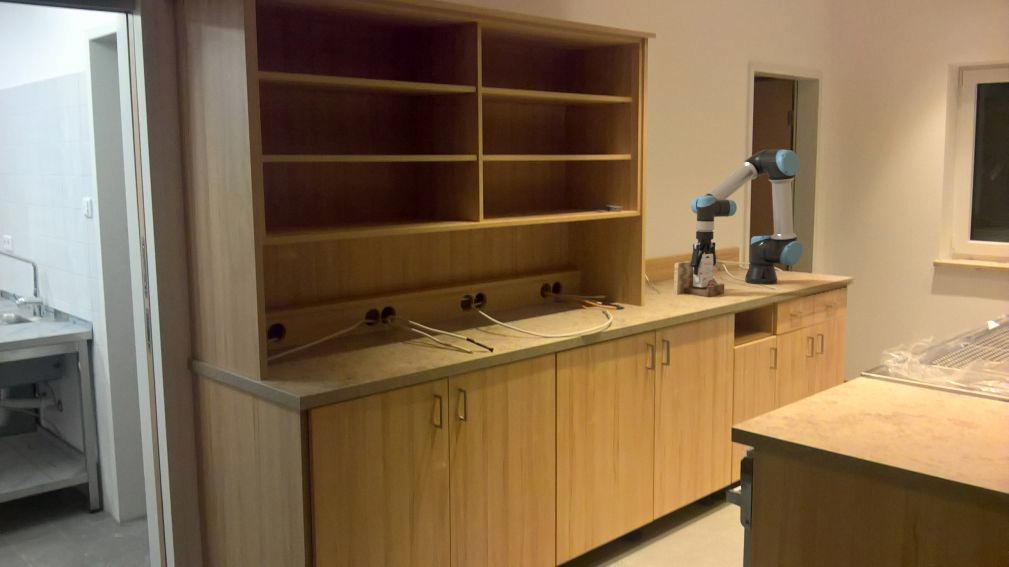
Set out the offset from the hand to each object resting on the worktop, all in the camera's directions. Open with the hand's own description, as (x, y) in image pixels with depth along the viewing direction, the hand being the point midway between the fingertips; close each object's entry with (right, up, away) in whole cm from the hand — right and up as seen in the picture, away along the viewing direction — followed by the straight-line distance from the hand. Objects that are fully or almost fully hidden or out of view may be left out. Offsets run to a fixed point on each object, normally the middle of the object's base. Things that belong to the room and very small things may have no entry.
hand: (702, 280), depth 380 cm
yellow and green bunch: (+5, -2, +28) cm, 28 cm away
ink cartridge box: (0, -3, 0) cm, 3 cm away
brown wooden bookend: (0, -6, +1) cm, 6 cm away
